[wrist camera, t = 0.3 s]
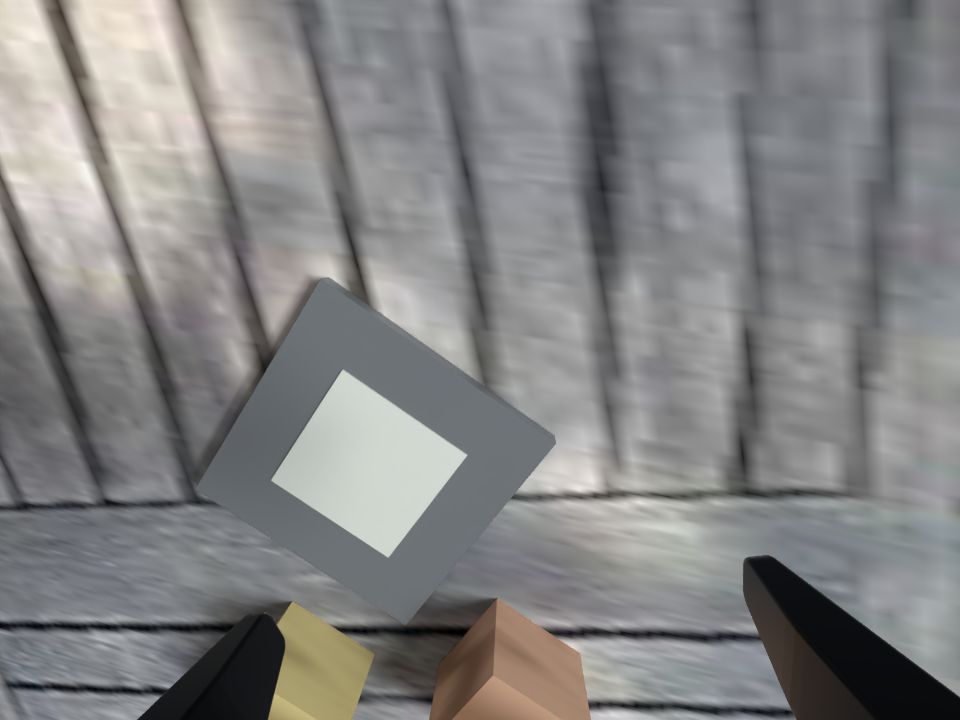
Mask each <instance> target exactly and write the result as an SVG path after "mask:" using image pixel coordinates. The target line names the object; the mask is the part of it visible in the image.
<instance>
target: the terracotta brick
mask: <svg viewBox="0 0 960 720" xmlns="http://www.w3.org/2000/svg"><path fill="white" fill-rule="evenodd" d="M429 720H591V718H590V712H589V706H588V700H587V694H586V688H585V682H584V676H583V670H582V664H581V658H580V653H579V652H577V651H576V650H574V649H573V648H571V647H570V646H568V645H567V644H565V643H564V642H562V641H561V640H559V639H558V638H556V637H555V636H553V635H551V634H550V633H548V632H547V631H545V630H544V629H542V628H541V627H539V626H538V625H536V624H535V623H533V622H532V621H530V620H529V619H527V618H526V617H524V616H523V615H521V614H520V613H518V612H517V611H515V610H514V609H512V608H511V607H509V606H508V605H506V604H505V603H503V602H502V601H500V600H499V599H496V600H495V601H494V602H493V603H492V605H491V606H490V607H489V608H488V609H487V610H486V611H485V613H484V614H483V615H482V616H481V617H480V618H479V619H478V620H477V622H476V623H475V624H474V625H473V626H472V627H471V628H470V630H469V631H468V632H467V633H466V634H465V635H464V636H463V638H462V639H461V640H460V641H459V642H458V643H457V644H456V645H455V647H454V648H453V649H452V650H451V651H450V652H449V653H448V655H447V656H446V657H445V658H444V659H443V660H442V661H441V663H440V664H439V669H438V675H437V680H436V686H435V691H434V697H433V702H432V708H431V713H430V719H429Z"/></svg>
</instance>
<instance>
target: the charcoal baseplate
mask: <svg viewBox="0 0 960 720" xmlns="http://www.w3.org/2000/svg"><path fill="white" fill-rule="evenodd" d="M555 444H556V441H555V436H554V435H553V434H551V433H550V432H549V431H547V430H546V429H544V428H543V427H541V426H540V425H539V424H537V423H536V422H534V421H533V420H531V419H530V418H529V417H527V416H526V415H524V414H523V413H521V412H520V411H519V410H517V409H516V408H514V407H513V406H512V405H510V404H509V403H507V402H506V401H504V400H503V399H502V398H500V397H499V396H497V395H496V394H494V393H493V392H492V391H490V390H489V389H487V388H486V387H484V386H483V385H482V384H480V383H479V382H477V381H476V380H475V379H473V378H472V377H470V376H469V375H467V374H466V373H465V372H463V371H462V370H460V369H459V368H457V367H456V366H455V365H453V364H452V363H450V362H449V361H447V360H446V359H445V358H443V357H442V356H440V355H439V354H438V353H436V352H435V351H433V350H432V349H430V348H429V347H428V346H426V345H425V344H423V343H422V342H420V341H419V340H418V339H416V338H415V337H413V336H412V335H410V334H409V333H408V332H406V331H405V330H403V329H402V328H401V327H399V326H398V325H396V324H395V323H393V322H392V321H391V320H389V319H388V318H386V317H385V316H383V315H382V314H381V313H379V312H378V311H376V310H375V309H373V308H372V307H371V306H369V305H368V304H366V303H365V302H364V301H362V300H361V299H359V298H358V297H356V296H355V295H354V294H352V293H351V292H349V291H348V290H346V289H345V288H344V287H342V286H341V285H339V284H338V283H336V282H335V281H334V280H332V279H331V278H321V279H320V281H319V283H318V284H317V286H316V288H315V289H314V291H313V293H312V294H311V296H310V298H309V300H308V301H307V303H306V305H305V306H304V308H303V310H302V311H301V313H300V315H299V316H298V318H297V320H296V321H295V323H294V325H293V326H292V328H291V330H290V331H289V333H288V335H287V336H286V338H285V340H284V341H283V343H282V345H281V346H280V348H279V350H278V351H277V353H276V355H275V356H274V358H273V360H272V362H271V363H270V365H269V367H268V368H267V370H266V372H265V373H264V375H263V377H262V378H261V380H260V382H259V383H258V385H257V387H256V388H255V390H254V392H253V393H252V395H251V397H250V398H249V400H248V402H247V403H246V405H245V407H244V408H243V410H242V412H241V413H240V415H239V417H238V418H237V420H236V422H235V423H234V425H233V427H232V429H231V430H230V432H229V434H228V435H227V437H226V439H225V440H224V442H223V444H222V445H221V447H220V449H219V450H218V452H217V454H216V455H215V457H214V459H213V460H212V462H211V464H210V465H209V467H208V469H207V470H206V472H205V474H204V475H203V477H202V479H201V480H200V482H199V484H198V485H197V487H196V490H197V491H199V492H200V493H202V494H203V495H205V496H206V497H208V498H209V499H211V500H213V501H214V502H216V503H217V504H219V505H220V506H222V507H223V508H225V509H226V510H228V511H230V512H231V513H233V514H234V515H236V516H237V517H239V518H240V519H242V520H243V521H245V522H247V523H248V524H250V525H251V526H253V527H254V528H256V529H257V530H259V531H260V532H262V533H264V534H265V535H267V536H268V537H270V538H271V539H273V540H274V541H276V542H277V543H279V544H281V545H282V546H284V547H285V548H287V549H288V550H290V551H291V552H293V553H294V554H296V555H298V556H299V557H301V558H302V559H304V560H305V561H307V562H308V563H310V564H311V565H313V566H315V567H316V568H318V569H319V570H321V571H322V572H324V573H325V574H327V575H328V576H330V577H332V578H333V579H335V580H336V581H338V582H339V583H341V584H342V585H344V586H345V587H347V588H349V589H350V590H352V591H353V592H355V593H356V594H358V595H359V596H361V597H362V598H364V599H366V600H367V601H369V602H370V603H372V604H373V605H375V606H376V607H378V608H379V609H381V610H383V611H384V612H386V613H387V614H389V615H390V616H392V617H393V618H395V619H396V620H398V621H400V622H401V623H403V624H404V625H406V624H407V623H408V622H409V621H410V620H411V618H412V617H413V616H414V615H415V614H416V612H417V611H418V610H419V609H420V607H421V606H422V605H423V604H424V603H425V601H426V600H427V599H428V598H429V597H430V595H431V594H432V593H433V592H434V591H435V589H436V588H437V587H438V586H439V585H440V583H441V582H442V581H443V580H444V578H445V577H446V576H447V575H448V574H449V572H450V571H451V570H452V569H453V568H454V566H455V565H456V564H457V563H458V562H459V560H460V559H461V558H462V557H463V555H464V554H465V553H466V552H467V551H468V549H469V548H470V547H471V546H472V545H473V543H474V542H475V541H476V540H477V539H478V537H479V536H480V535H481V534H482V532H483V531H484V530H485V529H486V528H487V526H488V525H489V524H490V523H491V522H492V520H493V519H494V518H495V517H496V516H497V514H498V513H499V512H500V511H501V509H502V508H503V507H504V506H505V505H506V503H507V502H508V501H509V500H510V499H511V497H512V496H513V495H514V494H515V493H516V491H517V490H518V489H519V488H520V486H521V485H522V484H523V483H524V482H525V480H526V479H527V478H528V477H529V476H530V474H531V473H532V472H533V471H534V470H535V468H536V467H537V466H538V465H539V463H540V462H541V461H542V460H543V459H544V457H545V456H546V455H547V454H548V453H549V451H550V450H551V449H552V448H553V447H554V445H555Z"/></svg>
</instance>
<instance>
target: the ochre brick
mask: <svg viewBox="0 0 960 720" xmlns="http://www.w3.org/2000/svg"><path fill="white" fill-rule="evenodd" d="M277 626H278V628H279V629H280V631H281V633H282V634H283V636H284V638H285V653H284V657H283V661H282V665H281V669H280V673H279V677H278V681H277V685H276V689H275V694H274V698H273V702H272V706H271V710H270V714H269V718H268V720H352V717H353V714H354V712H355V709H356V706H357V703H358V700H359V697H360V695H361V692H362V689H363V686H364V683H365V680H366V678H367V675H368V672H369V669H370V666H371V663H372V661H373V658H374V655H375V654H374V653H372V652H371V651H369V650H368V649H366V648H365V647H363V646H361V645H360V644H358V643H357V642H355V641H354V640H352V639H350V638H349V637H347V636H346V635H344V634H343V633H341V632H339V631H338V630H336V629H335V628H333V627H332V626H330V625H329V624H327V623H325V622H324V621H322V620H321V619H319V618H318V617H316V616H314V615H313V614H311V613H310V612H308V611H307V610H305V609H303V608H302V607H300V606H299V605H297V604H296V603H294V602H292V603H291V604H290V606H289V607H288V608H287V610H286V611H285V612H284V614H283V615H282V617H281V618H280V619H279V621H278V622H277Z"/></svg>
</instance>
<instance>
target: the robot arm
mask: <svg viewBox="0 0 960 720" xmlns="http://www.w3.org/2000/svg"><path fill="white" fill-rule="evenodd" d="M743 593H744V597H745V601H746V604H747V606H748V609H749V611H750V613H751V616H752V618H753V621H754V623H755V625H756V628H757V630H758V632H759V635H760V637H761V640H762V642H763V644H764V647H765V649H766V652H767V654H768V656H769V659H770V661H771V663H772V666H773V668H774V671H775V673H776V675H777V678H778V680H779V682H780V685H781V687H782V689H783V692H784V694H785V696H786V699H787V701H788V703H789V705H790V707H791V709H792V711H793V713H794V715H795V717H796V719H797V720H960V697H959V696H958V695H956V694H955V693H954V692H952V691H951V690H950V689H948V688H947V687H946V686H944V685H943V684H942V683H940V682H939V681H938V680H936V679H935V678H934V677H932V676H931V675H930V674H928V673H927V672H926V671H924V670H923V669H922V668H920V667H919V666H918V665H916V664H915V663H914V662H912V661H911V660H910V659H908V658H907V657H906V656H904V655H903V654H902V653H900V652H899V651H898V650H896V649H895V648H894V647H892V646H891V645H890V644H888V643H887V642H886V641H884V640H883V639H882V638H880V637H879V636H878V635H876V634H875V633H874V632H872V631H871V630H870V629H868V628H867V627H866V626H864V625H863V624H862V623H860V622H859V621H858V620H856V619H855V618H854V617H852V616H851V615H850V614H848V613H847V612H846V611H844V610H843V609H842V608H840V607H839V606H838V605H836V604H835V603H834V602H832V601H831V600H830V599H828V598H827V597H826V596H824V595H823V594H822V593H820V592H819V591H818V590H816V589H815V588H814V587H812V586H811V585H810V584H808V583H807V582H806V581H804V580H803V579H802V578H800V577H799V576H798V575H796V574H795V573H794V572H792V571H791V570H790V569H788V568H787V567H786V566H785V565H783V564H782V563H781V562H779V561H778V560H777V559H775V558H773V557H771V556H768V555H762V556H754V557H747V558H745V560H744V563H743ZM284 653H285V638H284V636H283V634H282V633H281V631H280V629H279V628H278V626H277V624H276V623H275V621H274V620H273V618H272V616H271V615H270V614H268V613H266V612H263V613H255V614H249V615H247V616H245V617H244V618H243V619H242V620H241V621H240V622H238V623H237V624H236V625H235V626H234V627H233V628H232V629H231V630H230V631H229V632H228V633H227V634H226V635H225V636H224V637H223V638H222V639H221V640H220V641H219V642H218V643H217V644H216V645H215V646H213V647H212V648H211V649H210V650H209V651H208V652H207V653H206V654H205V655H204V656H203V657H202V658H201V659H200V660H199V661H198V662H197V663H196V664H195V665H194V666H193V667H192V668H191V669H189V670H188V671H187V672H186V673H185V674H184V675H183V676H182V677H181V678H180V679H179V680H178V681H177V682H176V683H175V684H174V685H173V686H172V687H171V688H170V689H169V690H168V691H167V692H166V693H164V694H163V695H162V696H161V697H160V698H159V699H158V700H157V701H156V702H155V703H154V704H153V705H152V706H151V707H150V708H149V709H148V710H147V711H146V712H145V713H144V714H143V715H142V716H141V717H139V718H138V719H137V720H268V718H269V714H270V710H271V706H272V702H273V698H274V694H275V689H276V685H277V681H278V677H279V673H280V669H281V665H282V661H283V657H284Z"/></svg>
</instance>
